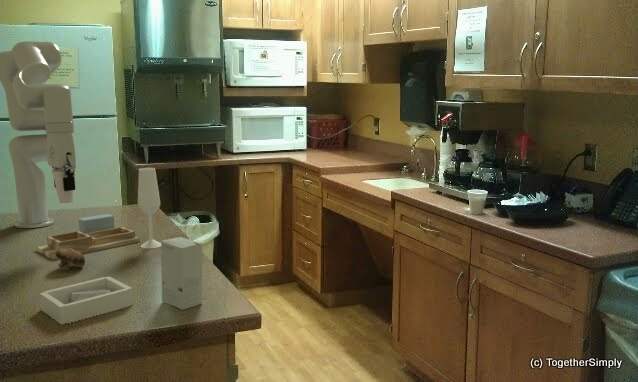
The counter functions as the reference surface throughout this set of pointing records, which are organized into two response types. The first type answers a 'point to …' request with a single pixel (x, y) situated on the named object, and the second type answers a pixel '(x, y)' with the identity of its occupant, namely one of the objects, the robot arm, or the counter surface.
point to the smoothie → (62, 187)
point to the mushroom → (70, 258)
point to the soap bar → (87, 294)
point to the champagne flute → (148, 200)
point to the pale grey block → (96, 223)
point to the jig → (88, 241)
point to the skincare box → (181, 272)
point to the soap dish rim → (85, 300)
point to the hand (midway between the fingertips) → (64, 188)
